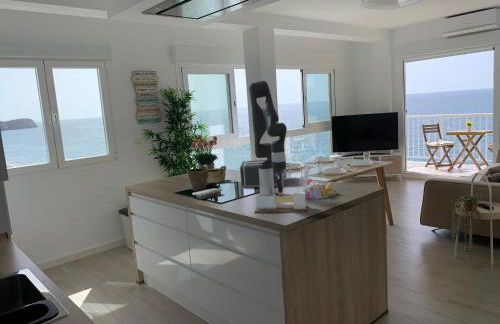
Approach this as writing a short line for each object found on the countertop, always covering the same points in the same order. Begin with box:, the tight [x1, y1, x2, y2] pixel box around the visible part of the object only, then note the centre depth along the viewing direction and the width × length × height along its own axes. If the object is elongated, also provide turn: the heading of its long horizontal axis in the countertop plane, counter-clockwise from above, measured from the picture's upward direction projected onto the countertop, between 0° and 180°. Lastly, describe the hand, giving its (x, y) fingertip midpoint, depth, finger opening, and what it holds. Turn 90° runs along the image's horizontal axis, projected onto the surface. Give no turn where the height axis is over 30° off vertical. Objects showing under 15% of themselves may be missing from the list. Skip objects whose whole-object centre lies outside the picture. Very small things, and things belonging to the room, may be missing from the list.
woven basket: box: [201, 164, 227, 184], centre depth 312 cm, size 22×17×15 cm
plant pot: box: [186, 167, 208, 192], centre depth 285 cm, size 15×15×16 cm
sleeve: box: [256, 193, 278, 210], centre depth 218 cm, size 5×10×7 cm, turn 80°
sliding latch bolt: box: [275, 182, 294, 204], centre depth 216 cm, size 3×17×12 cm, turn 80°
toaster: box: [239, 158, 290, 189], centre depth 294 cm, size 30×36×17 cm
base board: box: [254, 204, 309, 214], centre depth 217 cm, size 12×28×1 cm, turn 80°
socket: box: [292, 191, 307, 209], centre depth 215 cm, size 6×6×8 cm
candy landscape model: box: [300, 178, 338, 200], centre depth 247 cm, size 25×24×9 cm
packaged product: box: [191, 188, 223, 200], centre depth 263 cm, size 18×5×10 cm
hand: (280, 191), depth 216 cm, fingers open, 3 cm apart
